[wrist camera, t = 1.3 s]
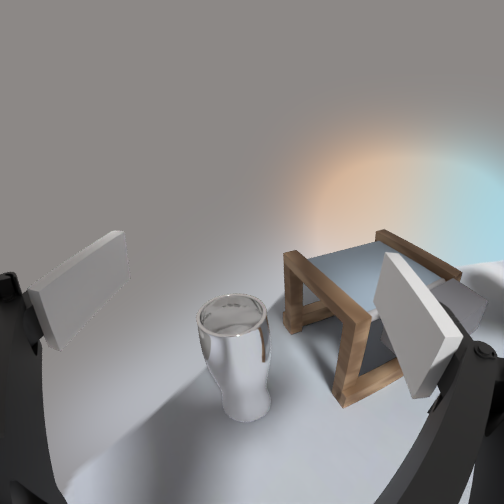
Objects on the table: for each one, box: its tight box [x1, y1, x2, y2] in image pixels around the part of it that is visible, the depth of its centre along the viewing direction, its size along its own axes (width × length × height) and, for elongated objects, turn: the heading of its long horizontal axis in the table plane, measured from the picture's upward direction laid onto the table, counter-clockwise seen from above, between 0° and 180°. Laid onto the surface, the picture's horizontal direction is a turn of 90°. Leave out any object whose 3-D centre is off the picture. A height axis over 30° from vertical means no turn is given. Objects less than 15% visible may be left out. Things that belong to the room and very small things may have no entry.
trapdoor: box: [307, 241, 488, 355], centre depth 32 cm, size 14×22×4 cm, turn 18°
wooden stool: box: [283, 230, 462, 408], centre depth 37 cm, size 19×19×14 cm
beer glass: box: [196, 294, 271, 422], centre depth 29 cm, size 7×7×15 cm
